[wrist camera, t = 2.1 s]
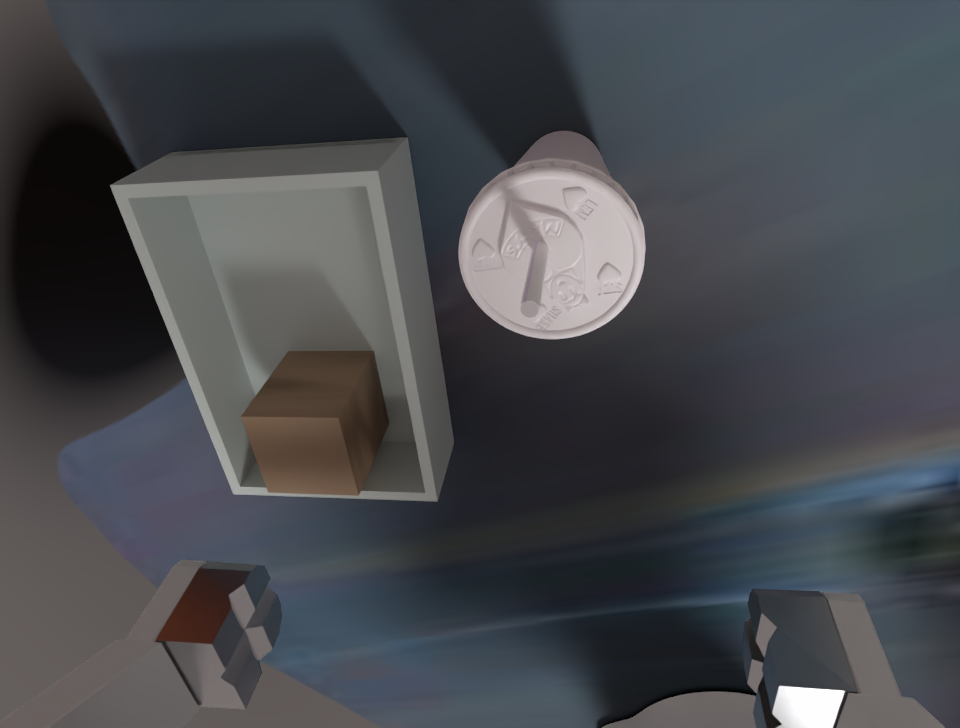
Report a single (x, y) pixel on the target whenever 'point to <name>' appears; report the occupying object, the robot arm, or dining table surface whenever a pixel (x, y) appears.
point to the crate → (296, 289)
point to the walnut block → (318, 422)
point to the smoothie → (553, 242)
